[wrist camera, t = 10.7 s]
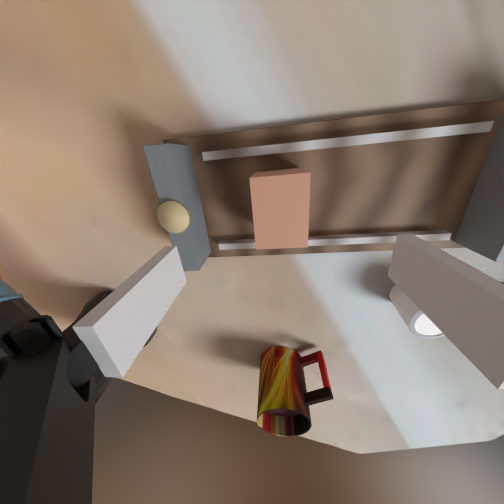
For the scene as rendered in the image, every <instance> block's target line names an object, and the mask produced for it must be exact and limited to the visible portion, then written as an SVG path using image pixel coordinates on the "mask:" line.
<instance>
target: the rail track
mask: <svg viewBox="0 0 504 504" xmlns="http://www.w3.org/2000/svg"><path fill="white" fill-rule="evenodd" d="M503 114H504V100H496V101H488V102H480V103H471V104H463V105H454V106H446V107H438V108H429V109H421V110H412V111H404V112H396V113H387V114H379V115H370V116H362V117H354V118H345V119H337V120H328V121H320V122H312V123H303V124H295V125H286V126H278V127H270V128H261V129H253V130H244V131H236V132H228V133H219V134H211V135H202V136H194V137H186V138H177V139H169V140H163V141H164V144H167V143H170V144H179V145H188V146H190V150H191V155H192V160H193V165H194V170H195V175H196V180H197V184H198V189H199V194H200V199H201V204H202V209H203V214H204V219H205V224H206V229H207V234H208V239H209V244H210V249H211V253H210V254H209V256H208V257H227V256H253V255H279V254H305V253H331V252H358V251H384V250H394V246H395V242H396V238H397V235H399V234H413V235H415V236H417V237H419V238H421V239H422V240H424V241H426V242H428V243H430V244H432V245H433V246H435V247H437V248H462V247H464V246H462V245H460V244H458V243H456V242H454V240H455V238H456V235H457V233H458V230H459V227H460V225H461V222H462V220H463V217H464V215H465V212H466V209H467V207H468V204H469V202H470V199H471V197H472V194H473V191H474V189H475V186H476V184H477V181H478V179H479V176H480V173H481V171H482V168H483V166H484V163H485V161H486V158H487V155H488V153H489V150H490V148H491V145H492V143H493V140H494V137H495V135H496V132H497V130H498V127H499V125H500V122H501V119H502V117H503ZM292 168H302V169H304V170H306V171H308V172H311V177H310V205H309V232H308V247H305V248H281V249H258V250H256V245H255V234H254V223H253V212H252V201H251V190H250V179H249V178H250V177H251V176H252V175H253V174H254V173H255V172H260V171H270V170H281V169H292Z"/></svg>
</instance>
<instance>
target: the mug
mask: <svg viewBox="0 0 504 504" xmlns="http://www.w3.org/2000/svg"><path fill="white" fill-rule="evenodd" d="M316 362H318V363H319V368H320V372H321V377H322V381H323V386H324V388H321V389H318V390H314V391H311V392H308V393H307V391H306V384H305V377H304V370H303V367H304V366H307V365H310V364H313V363H316ZM326 370H327V369H326V365H325V361H324V357H323V353H322V352H321V351H317V352H315V353H312V354H309V355H307V356H304V357H301V355H300V354H299V353H298V352H297V351H295V350H293V349H291V348H288V347H282V346H278V347H272V348H269V349H267V350H265V351H264V352H263V353H262V355H261V360H260V377H259V394H258V411H257V423H258V425H259V427H261V428H262V429H263V430H264V431H266V432H268V433H271V434H274V435H278V436H288V437H289V436H298V435H302V434H304V433H306V432H307V431H309V429H310V428H311V418H310V411H309V405H312V404H316V403H320V402H324V401H327V400H331V399H333V395H332V391H331V387H330V383H329V379H328V375H327V371H326Z"/></svg>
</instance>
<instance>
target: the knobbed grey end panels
mask: <svg viewBox="0 0 504 504" xmlns="http://www.w3.org/2000/svg"><path fill="white" fill-rule="evenodd" d="M143 148H144V152H145V155H146V158H147V162H148V165H149V169H150V172H151V175H152V179H153V182H154V186H155V189H156V192H157V196H158V199H159V203H160V206H159V208H158V210H157V218H158V221H159V223H160V224H161V226H162V227H163V228H164V229H165V230H167V231H168V233H169V237H170V240H171V243H172V246H177V249H178V253H179V256H180V260H181V263H182V267H183V271H195V270H200V269H201V267H202V266H203V264H204V262H205V261H206V259H207V258H208V256H209V254H210V253H211V249H210V244H209V239H208V234H207V229H206V224H205V219H204V214H203V209H202V204H201V199H200V194H199V189H198V184H197V180H196V175H195V170H194V165H193V160H192V155H191V150H190V146H188V145H179V144H170V143H167V144H159V145H150V146H143ZM454 242H456V243H458V244H460V245H462V246H464V247H466V248H468V249H470V250H472V251H474V252H476V253H479V254H481V255H483V256H485V257H487V258H489V259H491V260H493V261H495V262H496V261H504V114H503V117H502V119H501V122H500V125H499V127H498V130H497V132H496V135H495V137H494V140H493V143H492V145H491V148H490V150H489V153H488V155H487V158H486V161H485V163H484V166H483V168H482V171H481V173H480V176H479V179H478V181H477V184H476V186H475V189H474V191H473V194H472V197H471V199H470V202H469V204H468V207H467V209H466V212H465V215H464V217H463V220H462V222H461V225H460V227H459V230H458V233H457V235H456V238H455V240H454Z"/></svg>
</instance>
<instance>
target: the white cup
mask: <svg viewBox="0 0 504 504" xmlns="http://www.w3.org/2000/svg"><path fill="white" fill-rule="evenodd" d="M389 297H390V300H391V301H392V303H393V305H394V306H395V308H396V309H397V311H398V312H399V314H400V316H401V317H402V319H403V320H404V322H405V323H406V325H407V327H408V328H409V330H410V331H411V332H412V333H413V334H414V335H415V336H417V337H421V338H424V339H434V338H438V337H442V336H445V335H444V334H443V333H442V332H441V330H440V329H439V328H438V327H437V326H436V325H435V324H434V323H433V322H432V321H431V320H430V319H429V318H428V317H427V316H426V315H425V314H424V313H423V312H422V311H421V310H420V309H419V308H418V307H417V306H416V305H415V304H414V303H413V302H412V301H411V300H410V299H409V298H408V297H407V296H406V295H405V294H404V293H403V292H402V291H401V290H400V289H399V287H398V286H397V285H394V286H393V288H392V289H391V290H390V294H389Z"/></svg>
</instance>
